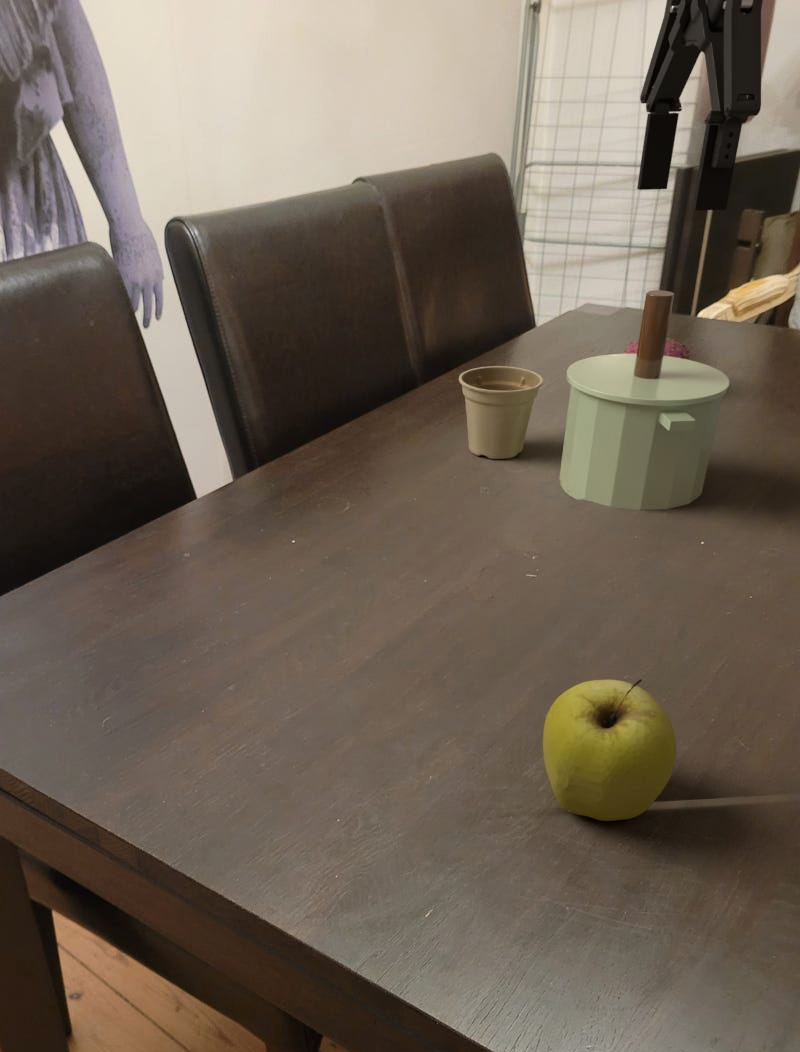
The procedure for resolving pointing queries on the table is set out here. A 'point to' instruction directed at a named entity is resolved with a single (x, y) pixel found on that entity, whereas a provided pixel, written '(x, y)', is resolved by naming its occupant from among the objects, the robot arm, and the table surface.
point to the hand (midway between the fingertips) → (678, 199)
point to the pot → (636, 452)
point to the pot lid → (649, 367)
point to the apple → (608, 749)
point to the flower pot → (498, 408)
